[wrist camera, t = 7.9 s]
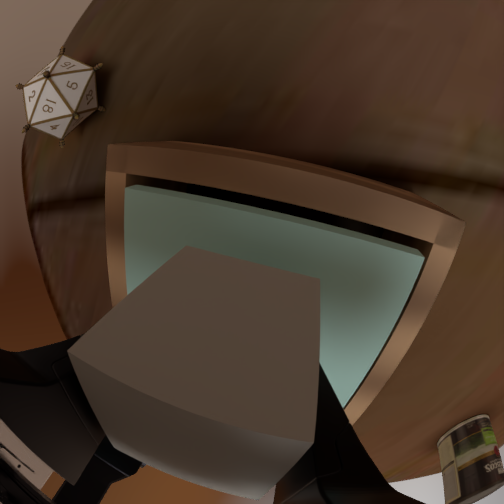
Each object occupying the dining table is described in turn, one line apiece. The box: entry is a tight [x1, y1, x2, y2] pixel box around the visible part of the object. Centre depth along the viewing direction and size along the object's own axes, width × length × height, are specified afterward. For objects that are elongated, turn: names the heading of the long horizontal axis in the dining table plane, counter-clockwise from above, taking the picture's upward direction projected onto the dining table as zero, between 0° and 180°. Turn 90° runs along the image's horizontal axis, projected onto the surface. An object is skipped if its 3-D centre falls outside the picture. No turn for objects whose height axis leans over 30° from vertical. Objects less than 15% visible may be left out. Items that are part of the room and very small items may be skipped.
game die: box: [16, 46, 106, 149], centre depth 16 cm, size 9×8×10 cm
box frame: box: [105, 141, 466, 425], centre depth 19 cm, size 22×18×8 cm
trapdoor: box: [124, 185, 425, 407], centre depth 14 cm, size 18×14×3 cm
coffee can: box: [437, 414, 504, 504], centre depth 19 cm, size 10×10×14 cm
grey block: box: [67, 245, 320, 500], centre depth 7 cm, size 5×5×6 cm
